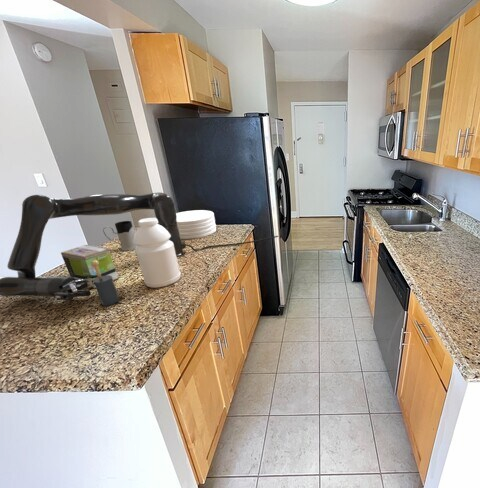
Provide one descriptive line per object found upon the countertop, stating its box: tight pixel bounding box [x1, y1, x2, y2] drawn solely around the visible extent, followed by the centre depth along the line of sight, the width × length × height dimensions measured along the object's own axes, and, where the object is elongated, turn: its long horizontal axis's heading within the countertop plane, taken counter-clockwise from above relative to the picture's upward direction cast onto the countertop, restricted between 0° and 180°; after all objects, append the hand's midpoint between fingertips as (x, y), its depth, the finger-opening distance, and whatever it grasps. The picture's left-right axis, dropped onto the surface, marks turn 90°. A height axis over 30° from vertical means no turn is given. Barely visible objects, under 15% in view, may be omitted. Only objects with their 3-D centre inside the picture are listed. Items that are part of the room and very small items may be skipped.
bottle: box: [133, 217, 182, 289], centre depth 110 cm, size 14×14×28 cm
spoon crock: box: [91, 260, 121, 307], centre depth 97 cm, size 5×5×18 cm
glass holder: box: [102, 220, 138, 251], centre depth 146 cm, size 9×14×15 cm, turn 116°
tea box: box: [60, 244, 119, 289], centre depth 112 cm, size 15×10×15 cm, turn 71°
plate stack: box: [176, 209, 217, 240], centre depth 174 cm, size 28×28×12 cm
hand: (99, 286), depth 98 cm, fingers open, 8 cm apart
